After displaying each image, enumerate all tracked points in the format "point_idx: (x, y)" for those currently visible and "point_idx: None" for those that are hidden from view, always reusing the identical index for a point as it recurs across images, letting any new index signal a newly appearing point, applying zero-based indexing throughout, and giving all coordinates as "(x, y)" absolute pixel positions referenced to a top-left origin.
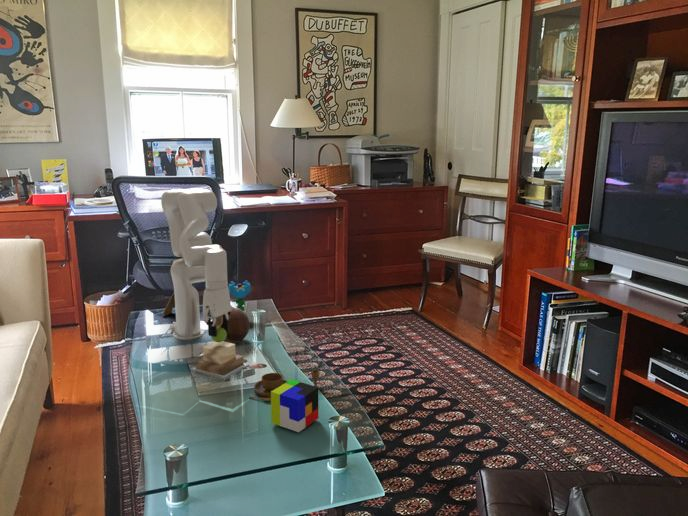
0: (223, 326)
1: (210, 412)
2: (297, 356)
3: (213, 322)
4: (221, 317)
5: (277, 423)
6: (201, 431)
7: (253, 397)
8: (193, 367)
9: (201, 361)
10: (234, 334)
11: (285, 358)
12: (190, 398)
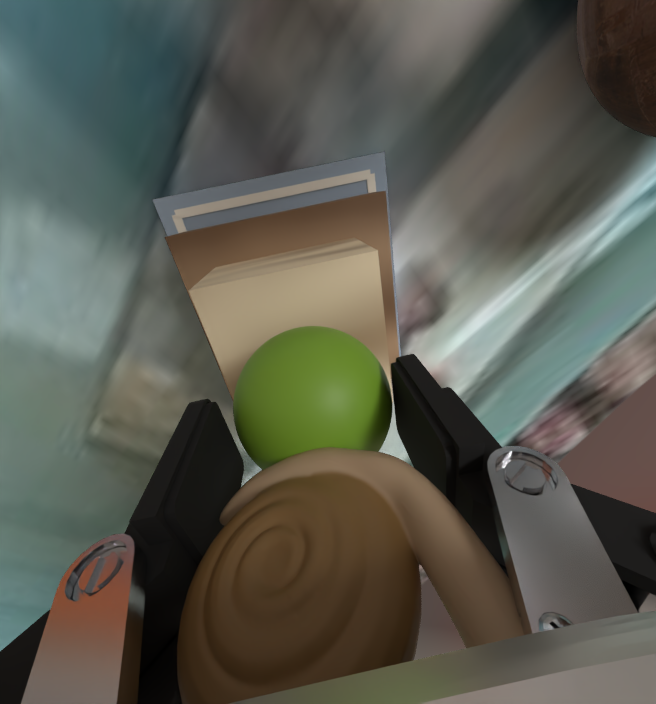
0: (410, 431)
1: (78, 531)
2: (558, 419)
3: (142, 692)
4: (437, 580)
5: None
6: (14, 580)
7: None
8: (183, 199)
9: (196, 271)
10: (641, 116)
11: (525, 405)
12: (48, 436)
